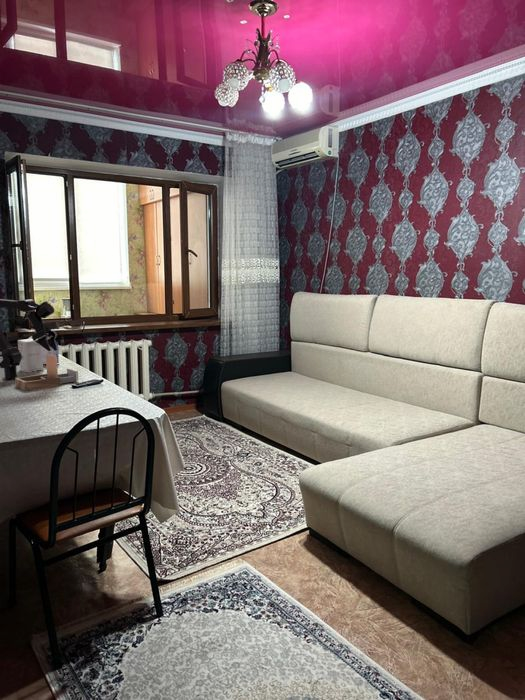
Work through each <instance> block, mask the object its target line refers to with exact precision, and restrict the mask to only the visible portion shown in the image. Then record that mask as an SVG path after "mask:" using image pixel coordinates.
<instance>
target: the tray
mask: <svg viewBox="0 0 525 700" xmlns="http://www.w3.org/2000/svg"><path fill="white" fill-rule="evenodd" d="M58 377H60V380H61V384H66V383H72V382H78V381H79V370H76V369H73V368H69V367H66V372H65V373H58ZM42 379H47V376H44V377H40V380H42Z"/></svg>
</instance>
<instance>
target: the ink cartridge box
mask: <svg viewBox="0 0 525 700" xmlns="http://www.w3.org/2000/svg"><path fill="white" fill-rule="evenodd" d="M56 346H57V350H56V351H55V350H54V349H52V348H51V347H50V349H51V351H48V350H46V349H45V348H44V347H42V358H43V364H46V356H47V355H56V358H57V363H59V364H60V361H59V343H57V342H56Z"/></svg>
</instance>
